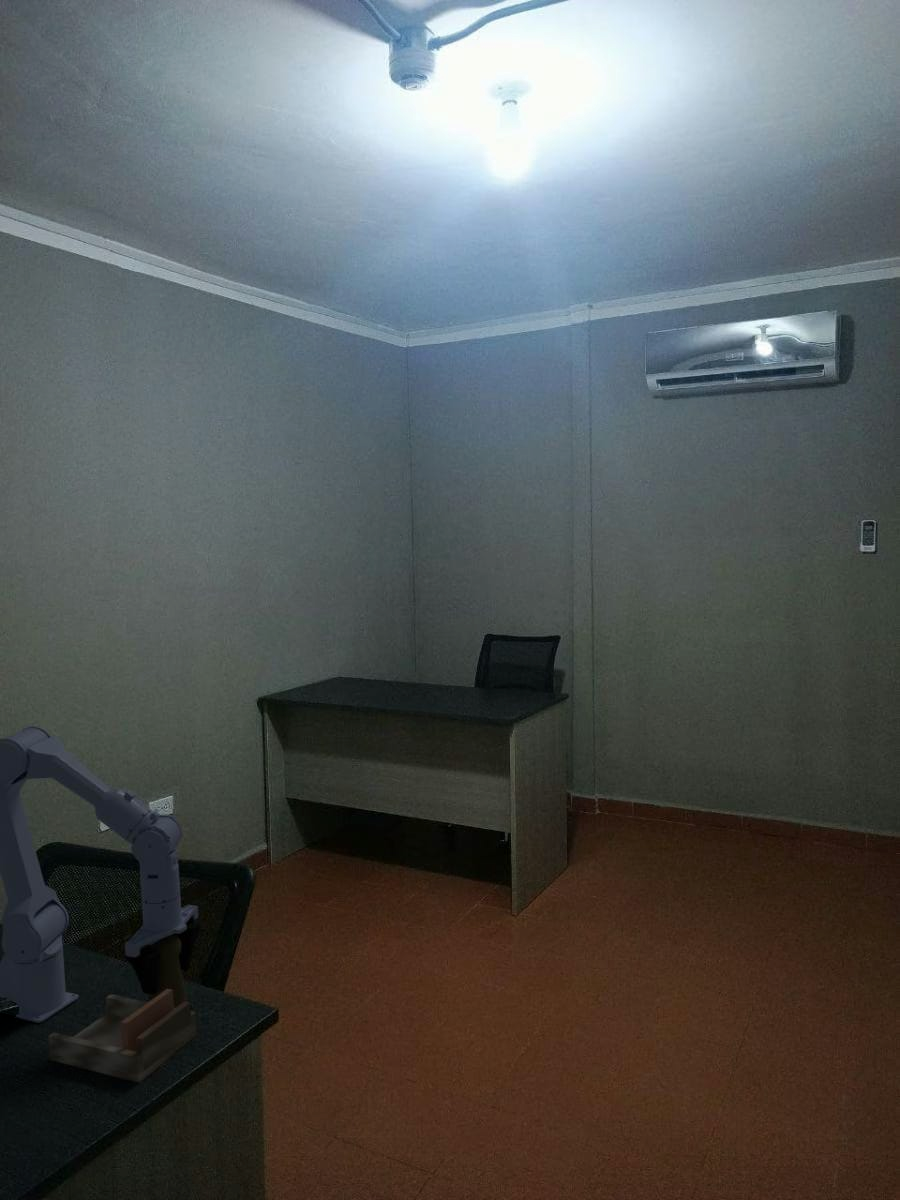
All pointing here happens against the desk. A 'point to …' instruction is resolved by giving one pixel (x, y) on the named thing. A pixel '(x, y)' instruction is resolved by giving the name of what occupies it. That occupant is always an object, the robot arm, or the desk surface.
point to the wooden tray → (104, 1041)
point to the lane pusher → (145, 1018)
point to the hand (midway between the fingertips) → (166, 980)
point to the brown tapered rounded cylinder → (169, 969)
